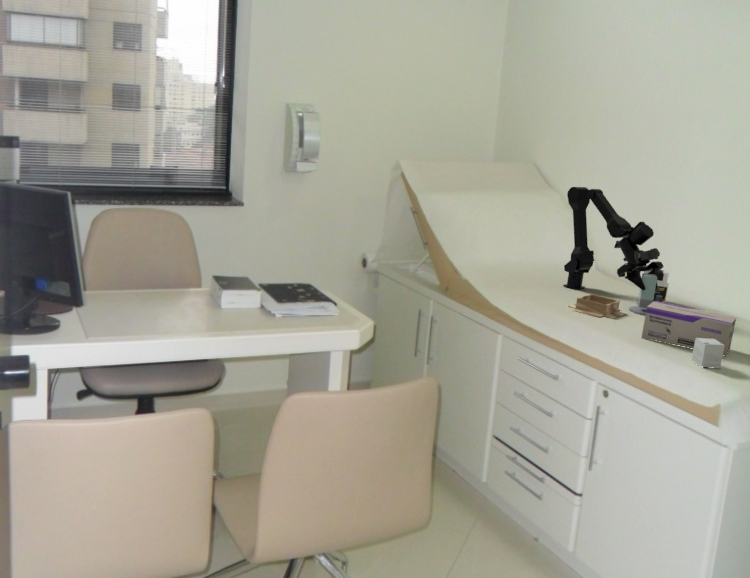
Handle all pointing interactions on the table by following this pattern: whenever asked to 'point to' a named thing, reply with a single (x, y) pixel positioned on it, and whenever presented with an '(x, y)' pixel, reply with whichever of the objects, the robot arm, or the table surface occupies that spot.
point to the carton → (597, 306)
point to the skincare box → (708, 352)
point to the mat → (638, 310)
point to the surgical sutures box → (686, 325)
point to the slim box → (647, 290)
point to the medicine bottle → (661, 286)
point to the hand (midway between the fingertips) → (650, 289)
